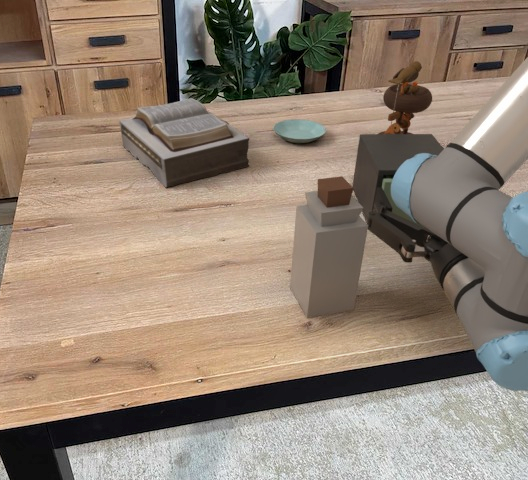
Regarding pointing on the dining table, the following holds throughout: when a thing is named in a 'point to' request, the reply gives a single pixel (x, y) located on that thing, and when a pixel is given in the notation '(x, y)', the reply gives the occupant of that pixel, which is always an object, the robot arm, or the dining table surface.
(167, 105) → the bible
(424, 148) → the cabinet
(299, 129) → the saucer
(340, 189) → the perfume bottle
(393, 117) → the bird figurine
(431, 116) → the dining table surface
